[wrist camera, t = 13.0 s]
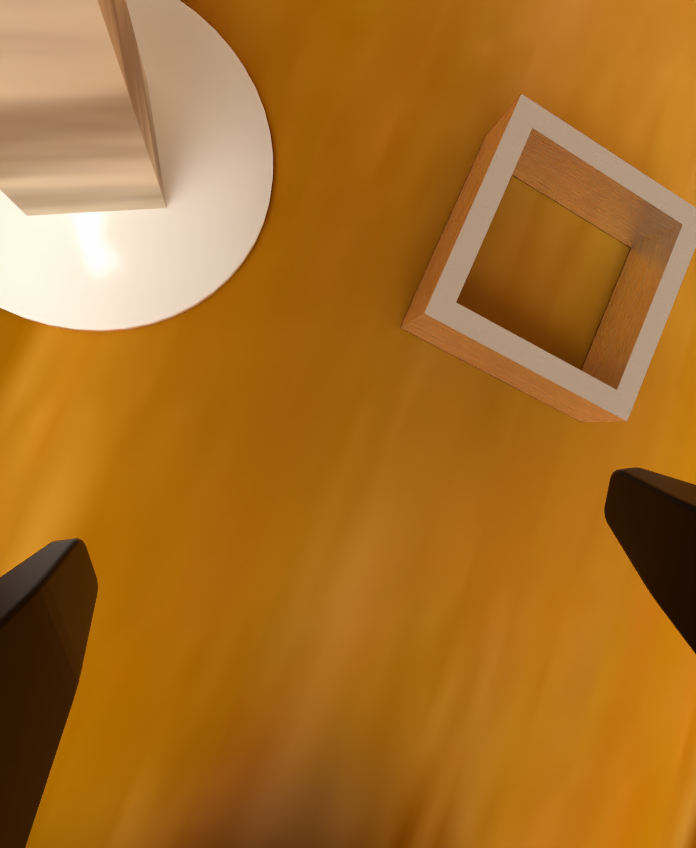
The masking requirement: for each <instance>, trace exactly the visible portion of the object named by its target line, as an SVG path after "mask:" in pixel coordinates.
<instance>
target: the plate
mask: <svg viewBox="0 0 696 848" xmlns="http://www.w3.org/2000/svg"><path fill="white" fill-rule="evenodd" d="M126 3H127V7H128V11H129V14H130V18H131V22H132V26H133V29H134V33H135V37H136V41H137V45H138V48H139V52H140V56H141V60H142V63H143V67H144V71H145V75H146V78H147V84H148V90H149V97H150V104H151V110H152V117H153V123H154V130H155V136H156V143H157V149H158V156H159V162H160V169H161V175H162V182H163V189H164V195H165V202H166V208H159V209H141V210H123V211H105V212H87V213H69V214H51V215H33V216H26V215H25V214H24V213H23V212H22V211H21V210H20V209H19V208H18V207H17V206H16V205H15V204H14V203H13V202H12V201H11V200H10V199H9V198H8V197H7V196H6V195H5V194H4V193H3V192H2V191H1V190H0V308H2V309H4V310H6V311H9V312H11V313H13V314H16V315H18V316H20V317H23V318H25V319H28V320H31V321H35V322H38V323H42V324H45V325H49V326H52V327H57V328H64V329H70V330H76V331H93V332H110V331H122V330H131V329H136V328H140V327H145V326H150V325H154V324H157V323H159V322H162V321H165V320H168V319H171V318H174V317H176V316H178V315H180V314H182V313H184V312H186V311H188V310H190V309H192V308H194V307H196V306H197V305H199V304H200V303H202V302H203V301H204V300H206V299H207V298H209V297H210V296H212V295H213V294H214V293H215V292H217V291H218V290H219V289H220V288H221V287H222V286H223V285H224V284H225V283H227V282H228V281H229V280H230V279H231V277H232V276H233V275H234V274H235V273H236V271H237V270H238V269H239V268H240V267H241V265H242V264H243V263H244V261H245V260H246V258H247V257H248V255H249V253H250V252H251V250H252V249H253V247H254V245H255V243H256V241H257V239H258V236H259V234H260V232H261V230H262V227H263V225H264V221H265V218H266V214H267V211H268V207H269V202H270V195H271V187H272V180H273V151H272V143H271V135H270V130H269V126H268V122H267V118H266V114H265V110H264V108H263V105H262V103H261V100H260V98H259V95H258V92H257V90H256V88H255V86H254V84H253V82H252V80H251V78H250V76H249V75H248V73H247V71H246V69H245V67H244V66H243V64H242V63H241V62H240V60H239V59H238V57H237V56H236V54H235V53H234V51H233V50H232V49H231V47H230V46H229V45H228V44H227V43H226V42H225V40H224V39H223V38H222V37H221V36H220V35H219V34H218V32H217V31H216V30H215V29H214V28H213V27H212V26H211V25H210V24H209V23H207V22H206V21H205V20H204V19H203V18H202V17H201V16H200V15H199V14H198V13H196V12H195V11H194V10H193V9H191V8H190V7H188V6H187V5H186V4H184V3H183V2H181V1H180V0H126Z"/></svg>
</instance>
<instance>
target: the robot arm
mask: <svg viewBox="0 0 696 848" xmlns="http://www.w3.org/2000/svg"><path fill="white" fill-rule="evenodd" d="M604 512H605V518H606V521H607V523H608V525H609V527H610V528H611V530H612V531H613V533H614V535H615V536H616V538H617V540H618V541H619V543H620V545H621V546H622V548H623V550H624V551H625V553H626V554H627V556H628V558H629V559H630V561H631V563H632V564H633V566H634V568H635V569H636V571H637V572H638V574H639V576H640V577H641V579H642V581H643V582H644V584H645V585H646V587H647V589H648V590H649V592H650V593H651V595H652V596H653V597H654V599H655V600H656V602H657V603H658V604H659V606H660V607H661V609H662V610H663V611H664V613H665V614H666V615H667V617H668V618H669V619H670V621H671V622H672V623H673V625H674V626H675V627H676V629H677V630H678V631H679V633H680V634H681V635H682V637H683V638H684V639H685V641H686V642H687V643H688V645H689V646H690V647H691V648H692V650H693V651H694V652H695V654H696V485H694V484H691V483H688V482H684V481H681V480H678V479H675V478H671V477H668V476H665V475H662V474H658V473H655V472H652V471H649V470H645V469H642V468H627V469H620V470H616V471H615V472H613V474H612V475H611V478H610V482H609V487H608V492H607V498H606V503H605V508H604ZM97 591H98V583H97V578H96V574H95V571H94V568H93V565H92V562H91V560H90V557H89V554H88V551H87V548H86V545H85V543H84V542H83V541H82V540H80V539H78V538H75V539H67V540H59V541H54V542H51V543H50V544H48V545H47V546H45V547H44V548H42V549H41V550H39V551H38V552H37V553H35V554H34V555H32V556H31V557H29V558H28V559H26V560H25V561H23V562H22V563H21V564H19V565H18V566H16V567H15V568H13V569H12V570H10V571H9V572H7V573H6V574H5V575H3V576H2V577H0V848H25V847H26V844H27V841H28V837H29V834H30V831H31V828H32V825H33V822H34V819H35V816H36V813H37V810H38V807H39V804H40V801H41V798H42V795H43V792H44V788H45V785H46V782H47V779H48V776H49V773H50V770H51V767H52V764H53V761H54V758H55V755H56V752H57V749H58V746H59V742H60V739H61V736H62V733H63V730H64V727H65V724H66V721H67V718H68V715H69V712H70V709H71V706H72V703H73V700H74V696H75V693H76V689H77V686H78V683H79V678H80V674H81V670H82V665H83V660H84V655H85V651H86V646H87V641H88V636H89V631H90V626H91V621H92V617H93V612H94V607H95V602H96V597H97Z"/></svg>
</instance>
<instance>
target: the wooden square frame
mask: <svg viewBox="0 0 696 848" xmlns="http://www.w3.org/2000/svg"><path fill="white" fill-rule="evenodd" d="M512 175H514V176H515V177H517V178H518V179H520V180H522V181H523V182H525V183H527V184H528V185H530V186H531V187H533V188H535V189H536V190H538V191H539V192H541V193H543V194H544V195H546V196H548V197H549V198H551V199H552V200H554V201H556V202H557V203H559V204H561V205H562V206H564V207H565V208H567V209H569V210H570V211H572V212H574V213H575V214H577V215H578V216H580V217H582V218H583V219H585V220H587V221H588V222H590V223H591V224H593V225H595V226H596V227H598V228H600V229H601V230H603V231H604V232H606V233H608V234H609V235H611V236H613V237H614V238H616V239H617V240H619V241H621V242H622V243H624V244H626V245H627V246H629V247H630V248H631V249H630V252H629V254H628V257H627V259H626V262H625V264H624V267H623V269H622V272H621V274H620V276H619V279H618V281H617V284H616V286H615V289H614V291H613V294H612V296H611V299H610V301H609V304H608V306H607V308H606V311H605V313H604V316H603V318H602V321H601V323H600V326H599V328H598V331H597V333H596V335H595V338H594V340H593V343H592V345H591V348H590V350H589V353H588V355H587V358H586V360H585V362H584V365H583V367H582V370H579V369H578V368H576V367H574V366H572V365H570V364H568V363H567V362H565V361H563V360H561V359H559V358H557V357H556V356H554V355H552V354H550V353H548V352H546V351H544V350H543V349H541V348H539V347H537V346H535V345H533V344H532V343H530V342H528V341H526V340H524V339H522V338H521V337H519V336H517V335H515V334H513V333H511V332H510V331H508V330H506V329H504V328H502V327H500V326H499V325H497V324H495V323H493V322H491V321H489V320H488V319H486V318H484V317H482V316H480V315H478V314H477V313H475V312H473V311H471V310H469V309H467V308H466V307H464V306H462V305H460V304H458V303H456V302H457V299H458V297H459V295H460V292H461V290H462V288H463V286H464V283H465V281H466V279H467V276H468V274H469V272H470V270H471V267H472V265H473V263H474V260H475V258H476V256H477V254H478V251H479V249H480V247H481V244H482V242H483V240H484V238H485V235H486V233H487V231H488V228H489V226H490V224H491V222H492V219H493V217H494V215H495V212H496V210H497V208H498V206H499V203H500V201H501V199H502V196H503V194H504V192H505V190H506V187H507V185H508V183H509V180H510V178H511V176H512ZM695 248H696V208H695V207H694V206H692V205H691V204H689V203H688V202H686V201H685V200H683V199H682V198H680V197H678V196H677V195H675V194H674V193H672V192H671V191H669V190H668V189H666V188H665V187H663V186H662V185H660V184H659V183H657V182H656V181H654V180H653V179H651V178H649V177H648V176H646V175H645V174H643V173H642V172H640V171H639V170H637V169H636V168H634V167H633V166H631V165H630V164H628V163H627V162H625V161H624V160H622V159H620V158H619V157H617V156H616V155H614V154H613V153H611V152H610V151H608V150H607V149H605V148H604V147H602V146H601V145H599V144H598V143H596V142H595V141H593V140H591V139H590V138H588V137H587V136H585V135H584V134H582V133H581V132H579V131H578V130H576V129H575V128H573V127H572V126H570V125H569V124H567V123H565V122H564V121H562V120H561V119H559V118H558V117H556V116H555V115H553V114H552V113H550V112H549V111H547V110H546V109H544V108H543V107H541V106H540V105H538V104H536V103H535V102H533V101H532V100H530V99H529V98H527V97H526V96H524V95H523V94H521V95H520V96H519V97H518V98H517V100H516V101H515V102H514V103H513V104H512V105H511V107H510V108H509V109H508V110H507V111H506V112H505V114H504V115H503V116H502V117H501V118H500V119H499V121H498V122H497V123H496V124H495V125H494V126H493V128H492V129H491V130H490V131H489V132H488V134H487V135H486V137H485V139H484V141H483V143H482V146H481V148H480V150H479V152H478V155H477V157H476V159H475V161H474V164H473V166H472V168H471V170H470V173H469V175H468V177H467V179H466V182H465V184H464V186H463V188H462V190H461V193H460V195H459V197H458V199H457V202H456V204H455V206H454V208H453V211H452V213H451V215H450V217H449V220H448V222H447V224H446V226H445V229H444V231H443V233H442V235H441V238H440V240H439V242H438V244H437V246H436V249H435V251H434V253H433V255H432V258H431V260H430V262H429V264H428V267H427V269H426V271H425V273H424V276H423V278H422V280H421V282H420V285H419V287H418V289H417V291H416V294H415V296H414V298H413V300H412V302H411V305H410V307H409V309H408V311H407V314H406V316H405V318H404V320H403V323H402V325H401V327H400V328H401V329H403V330H405V331H407V332H409V333H411V334H413V335H415V336H417V337H419V338H421V339H422V340H424V341H426V342H428V343H430V344H432V345H434V346H436V347H438V348H440V349H442V350H444V351H446V352H447V353H449V354H451V355H453V356H455V357H457V358H459V359H461V360H463V361H465V362H467V363H469V364H470V365H472V366H474V367H476V368H478V369H480V370H482V371H484V372H486V373H488V374H490V375H492V376H493V377H495V378H497V379H499V380H501V381H503V382H505V383H507V384H509V385H511V386H513V387H515V388H517V389H518V390H520V391H522V392H524V393H526V394H528V395H530V396H532V397H534V398H536V399H538V400H540V401H541V402H543V403H545V404H547V405H549V406H551V407H553V408H555V409H557V410H559V411H561V412H563V413H565V414H566V415H568V416H570V417H572V418H574V419H576V420H578V421H580V422H618V421H627V420H628V418H629V415H630V413H631V410H632V408H633V405H634V403H635V400H636V397H637V395H638V392H639V390H640V387H641V385H642V382H643V380H644V377H645V375H646V372H647V370H648V367H649V364H650V362H651V359H652V357H653V354H654V352H655V349H656V347H657V344H658V342H659V339H660V337H661V334H662V331H663V329H664V326H665V324H666V321H667V319H668V316H669V314H670V311H671V309H672V306H673V304H674V301H675V298H676V296H677V293H678V291H679V288H680V286H681V283H682V281H683V278H684V276H685V273H686V271H687V268H688V265H689V263H690V260H691V258H692V255H693V253H694V250H695Z"/></svg>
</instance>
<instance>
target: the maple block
mask: <svg viewBox="0 0 696 848" xmlns="http://www.w3.org/2000/svg"><path fill="white" fill-rule="evenodd" d="M0 190H1V191H2V192H3V193H4V194H5V195H6V196H7V197H8V198H9V199H10V200H11V201H12V202H13V203H14V204H15V205H16V206H17V207H18V208H19V209H20V210H21V211H22V212H23V213H24V214H25V215H26V216H33V215H51V214H69V213H87V212H105V211H123V210H141V209H159V208H166V202H165V195H164V189H163V182H162V175H161V169H160V162H159V156H158V149H157V143H156V136H155V130H154V123H153V117H152V110H151V104H150V97H149V90H148V84H147V78H146V75H145V71H144V67H143V63H142V60H141V56H140V52H139V48H138V45H137V41H136V37H135V33H134V29H133V26H132V22H131V18H130V14H129V11H128V7H127V3H126V0H0Z"/></svg>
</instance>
